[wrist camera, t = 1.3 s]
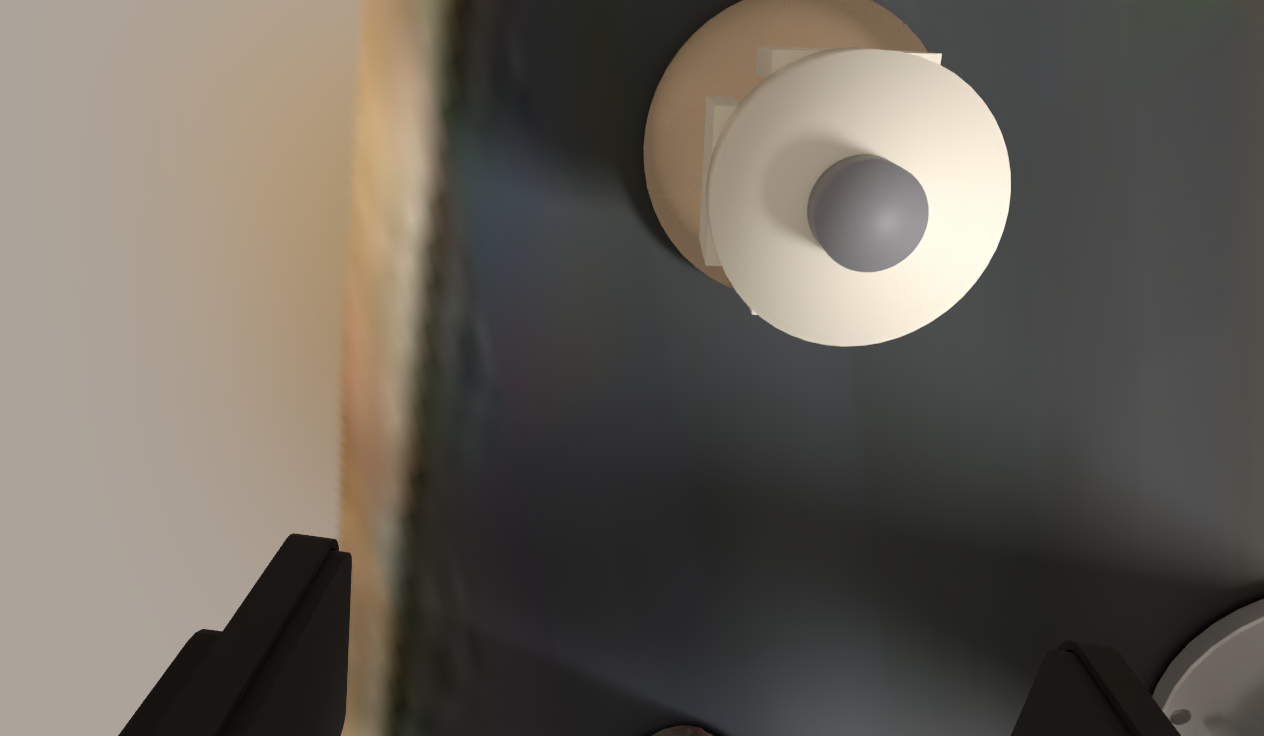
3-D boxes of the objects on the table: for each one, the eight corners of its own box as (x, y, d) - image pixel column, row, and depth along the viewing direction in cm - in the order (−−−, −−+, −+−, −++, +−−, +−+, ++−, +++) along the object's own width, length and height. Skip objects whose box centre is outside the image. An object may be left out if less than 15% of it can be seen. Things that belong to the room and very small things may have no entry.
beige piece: (964, -9, 27) (1085, -22, 19) (917, 294, 31) (1003, 380, 23) (648, -17, 27) (648, -33, 20) (639, 287, 31) (637, 370, 23)
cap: (958, 48, 23) (1063, 55, 17) (920, 290, 25) (1001, 368, 20) (705, 41, 23) (725, 47, 17) (693, 284, 25) (706, 360, 20)
